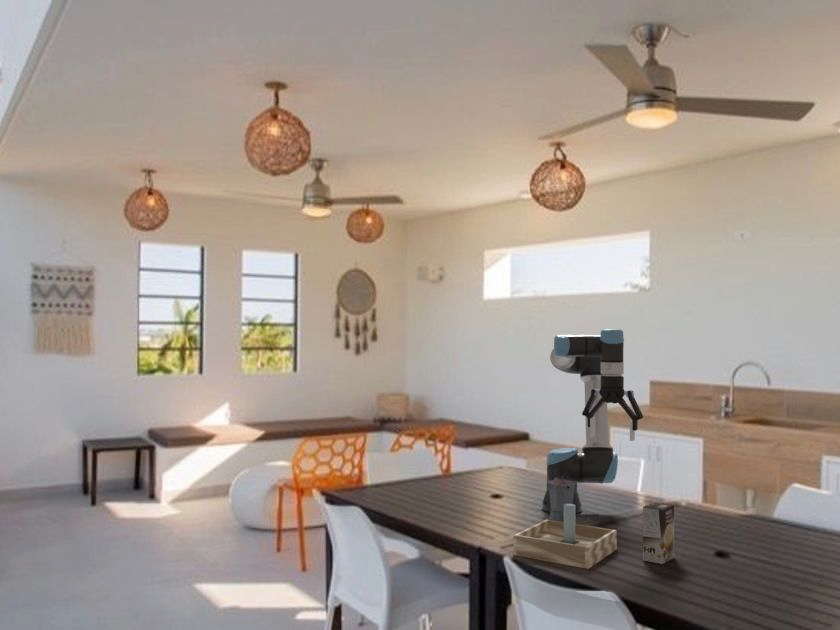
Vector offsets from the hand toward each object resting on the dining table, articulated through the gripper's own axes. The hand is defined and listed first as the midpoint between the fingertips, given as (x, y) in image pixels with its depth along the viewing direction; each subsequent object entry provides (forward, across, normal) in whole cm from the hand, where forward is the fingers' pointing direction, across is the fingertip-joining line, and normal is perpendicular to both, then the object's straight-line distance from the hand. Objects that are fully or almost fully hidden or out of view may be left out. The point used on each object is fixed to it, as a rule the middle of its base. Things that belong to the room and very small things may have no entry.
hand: (612, 438), depth 253 cm
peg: (+33, -6, -22) cm, 40 cm away
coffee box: (+33, +20, -16) cm, 42 cm away
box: (+33, -6, -25) cm, 42 cm away
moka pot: (+33, -17, -4) cm, 37 cm away
